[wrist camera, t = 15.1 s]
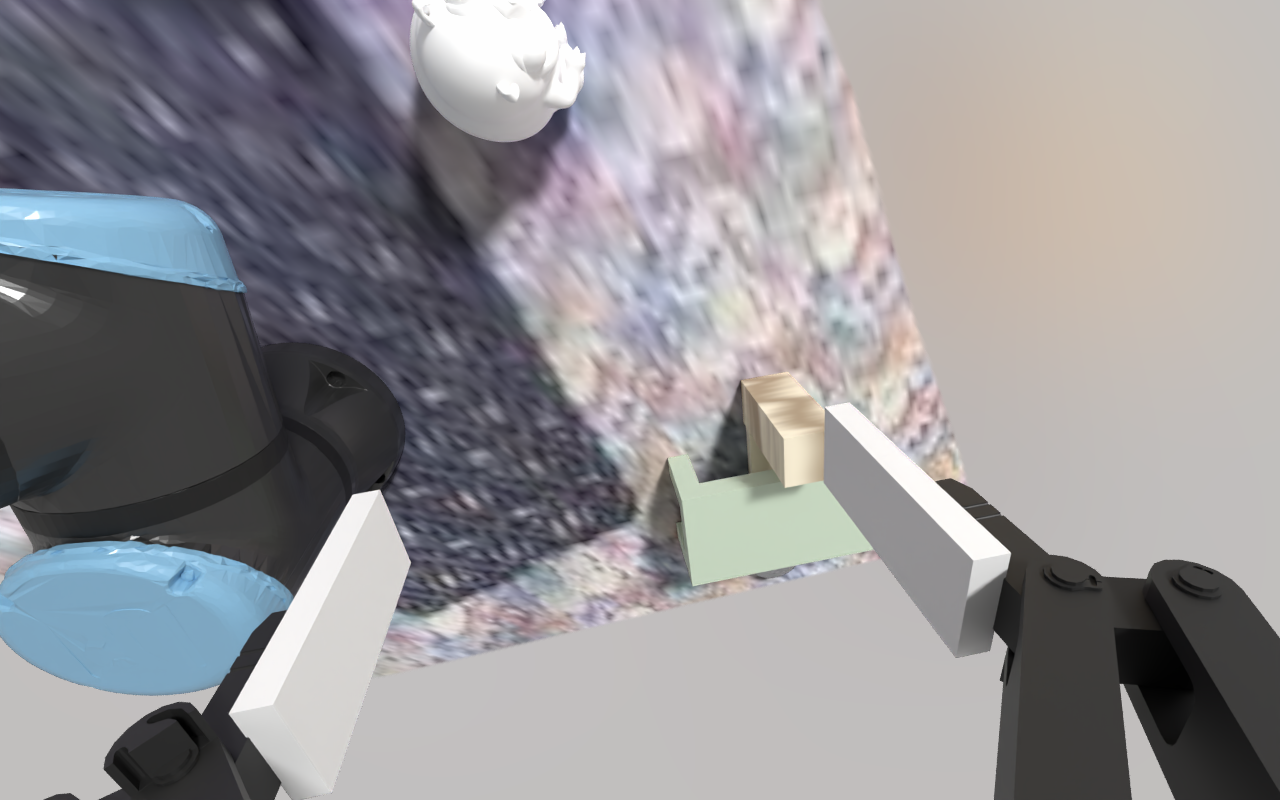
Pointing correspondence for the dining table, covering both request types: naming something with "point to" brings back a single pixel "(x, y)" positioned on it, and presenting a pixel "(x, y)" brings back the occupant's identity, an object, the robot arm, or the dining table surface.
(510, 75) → the figurine
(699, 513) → the footstool
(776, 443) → the pusher
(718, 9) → the dining table surface
